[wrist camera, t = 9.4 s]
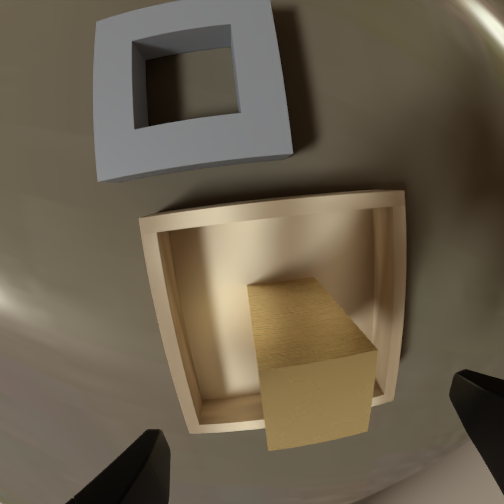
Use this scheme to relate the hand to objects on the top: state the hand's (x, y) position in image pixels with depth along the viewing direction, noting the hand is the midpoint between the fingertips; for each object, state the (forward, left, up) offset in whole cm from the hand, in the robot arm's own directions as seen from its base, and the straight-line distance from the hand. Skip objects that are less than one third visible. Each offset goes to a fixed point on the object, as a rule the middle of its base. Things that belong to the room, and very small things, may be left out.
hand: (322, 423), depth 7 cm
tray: (0, +1, -12) cm, 12 cm away
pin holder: (+4, -13, -12) cm, 18 cm away
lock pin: (0, +1, -11) cm, 11 cm away
